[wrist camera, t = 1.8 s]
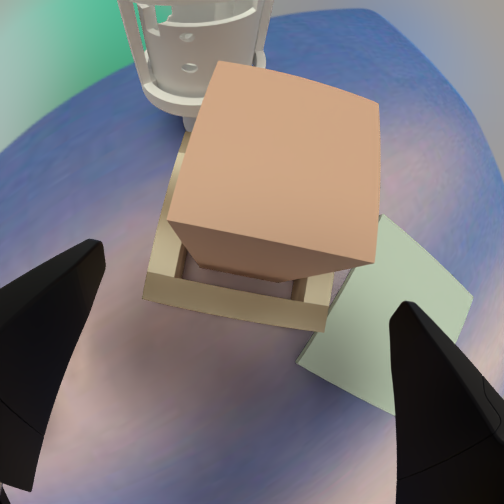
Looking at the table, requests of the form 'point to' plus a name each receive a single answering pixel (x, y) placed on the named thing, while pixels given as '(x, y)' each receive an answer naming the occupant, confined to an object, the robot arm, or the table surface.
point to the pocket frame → (224, 299)
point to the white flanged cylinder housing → (193, 47)
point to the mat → (382, 315)
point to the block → (279, 177)
